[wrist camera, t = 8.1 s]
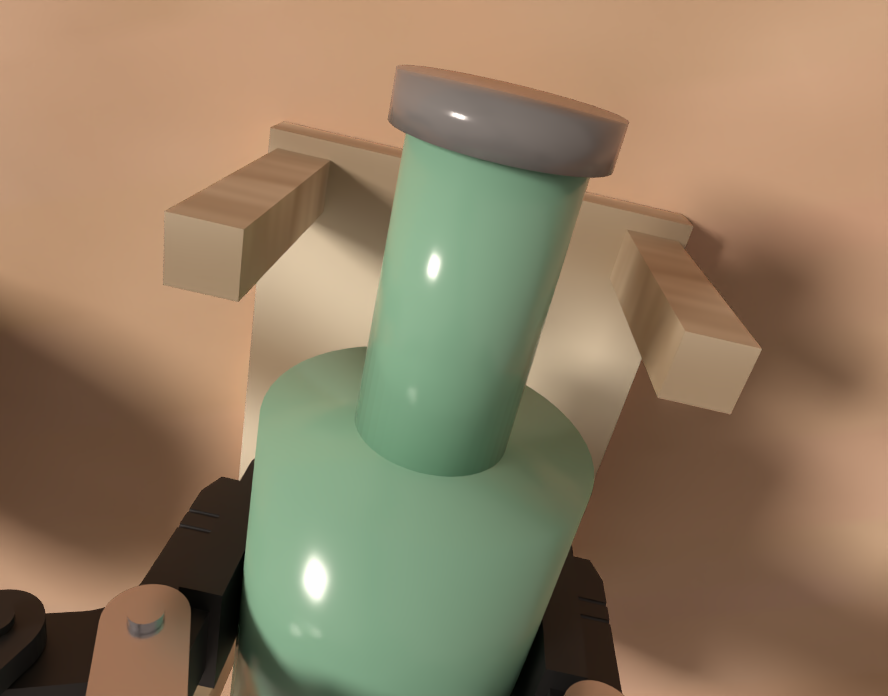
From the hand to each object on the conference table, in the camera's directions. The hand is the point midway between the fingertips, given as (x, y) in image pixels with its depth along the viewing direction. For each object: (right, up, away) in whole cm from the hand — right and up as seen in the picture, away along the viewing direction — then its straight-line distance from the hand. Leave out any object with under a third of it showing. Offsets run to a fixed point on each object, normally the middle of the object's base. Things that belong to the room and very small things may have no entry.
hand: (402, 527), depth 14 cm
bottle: (0, +2, -1) cm, 2 cm away
